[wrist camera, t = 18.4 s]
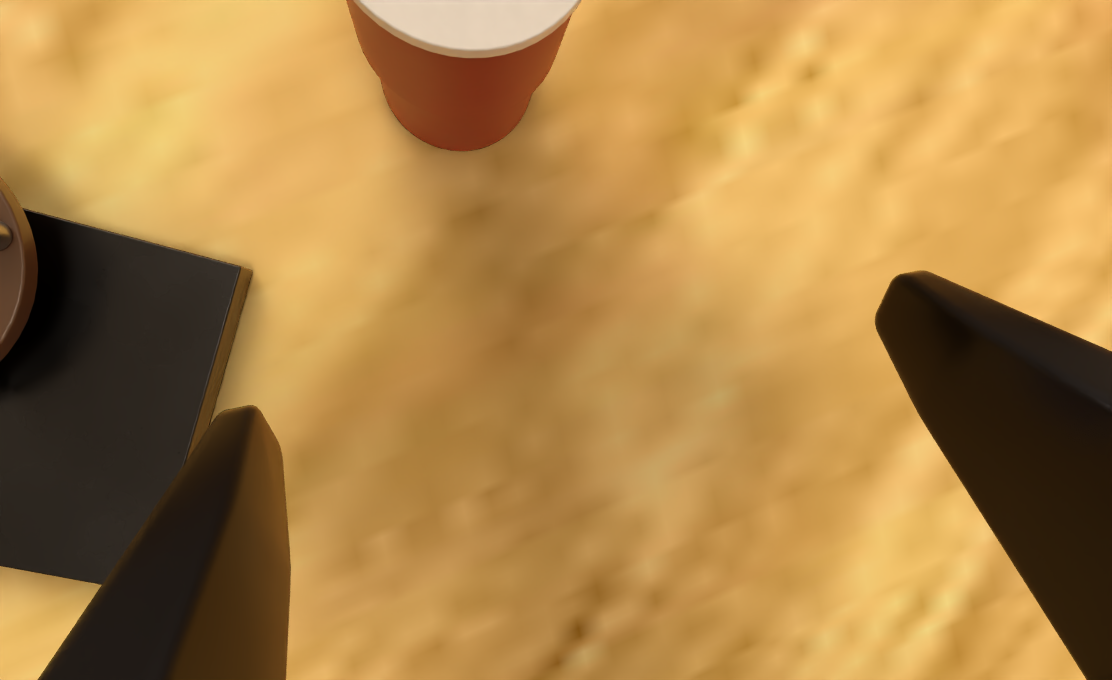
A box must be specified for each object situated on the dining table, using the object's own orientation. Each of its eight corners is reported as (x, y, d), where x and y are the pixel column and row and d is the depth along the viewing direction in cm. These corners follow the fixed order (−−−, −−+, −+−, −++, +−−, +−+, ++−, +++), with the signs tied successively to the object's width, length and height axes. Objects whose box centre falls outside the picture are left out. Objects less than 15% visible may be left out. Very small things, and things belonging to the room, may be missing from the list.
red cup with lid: (462, 201, 22) (470, 110, 13) (328, 72, 21) (244, -112, 12) (579, 80, 22) (660, -81, 14) (453, -48, 21) (456, -303, 13)
